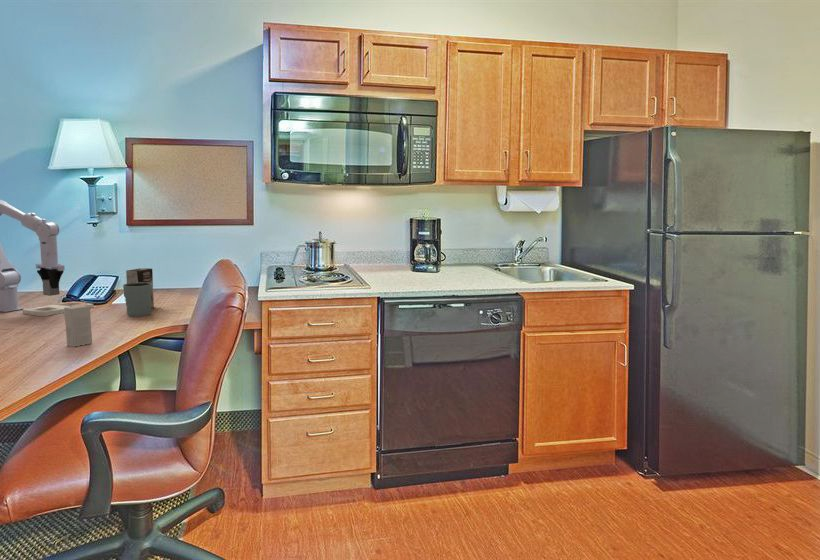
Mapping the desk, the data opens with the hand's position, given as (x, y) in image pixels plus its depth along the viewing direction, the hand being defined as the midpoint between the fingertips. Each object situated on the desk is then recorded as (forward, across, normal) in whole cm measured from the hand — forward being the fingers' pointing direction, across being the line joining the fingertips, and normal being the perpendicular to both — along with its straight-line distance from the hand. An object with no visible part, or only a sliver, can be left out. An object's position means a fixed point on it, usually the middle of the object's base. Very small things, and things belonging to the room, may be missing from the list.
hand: (51, 287), depth 255 cm
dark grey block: (+3, 0, 0) cm, 3 cm away
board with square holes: (+9, 0, -3) cm, 10 cm away
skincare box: (+10, -58, +32) cm, 67 cm away
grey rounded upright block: (+10, -34, -12) cm, 37 cm away
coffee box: (+10, -24, -22) cm, 34 cm away
